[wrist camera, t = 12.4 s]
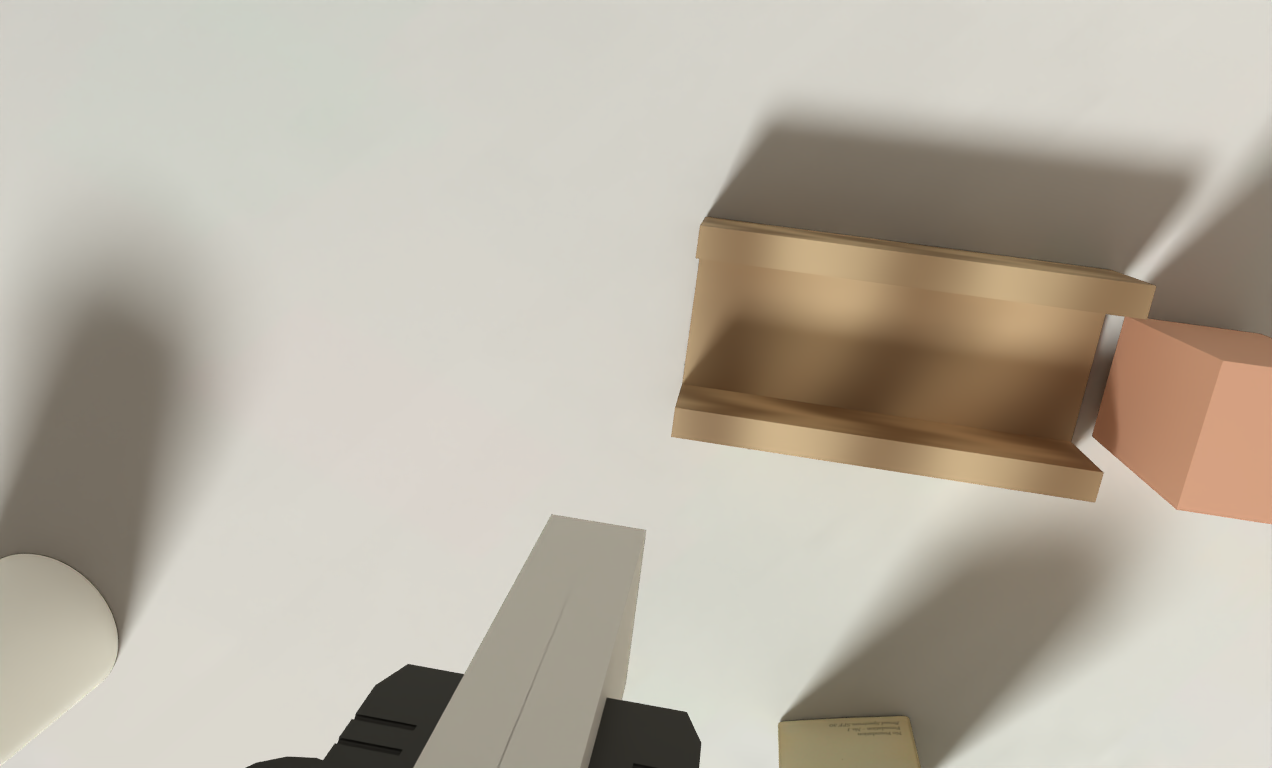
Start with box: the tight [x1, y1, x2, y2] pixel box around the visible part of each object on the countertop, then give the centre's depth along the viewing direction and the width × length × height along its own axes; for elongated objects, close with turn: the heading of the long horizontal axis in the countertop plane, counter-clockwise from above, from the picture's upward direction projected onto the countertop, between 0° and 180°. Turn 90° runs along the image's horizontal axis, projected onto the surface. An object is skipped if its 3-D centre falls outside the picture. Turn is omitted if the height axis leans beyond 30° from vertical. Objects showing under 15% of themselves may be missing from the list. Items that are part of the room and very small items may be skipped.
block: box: [1092, 317, 1272, 524], centre depth 31 cm, size 5×5×8 cm
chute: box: [671, 217, 1156, 502], centre depth 35 cm, size 16×8×4 cm, turn 83°
